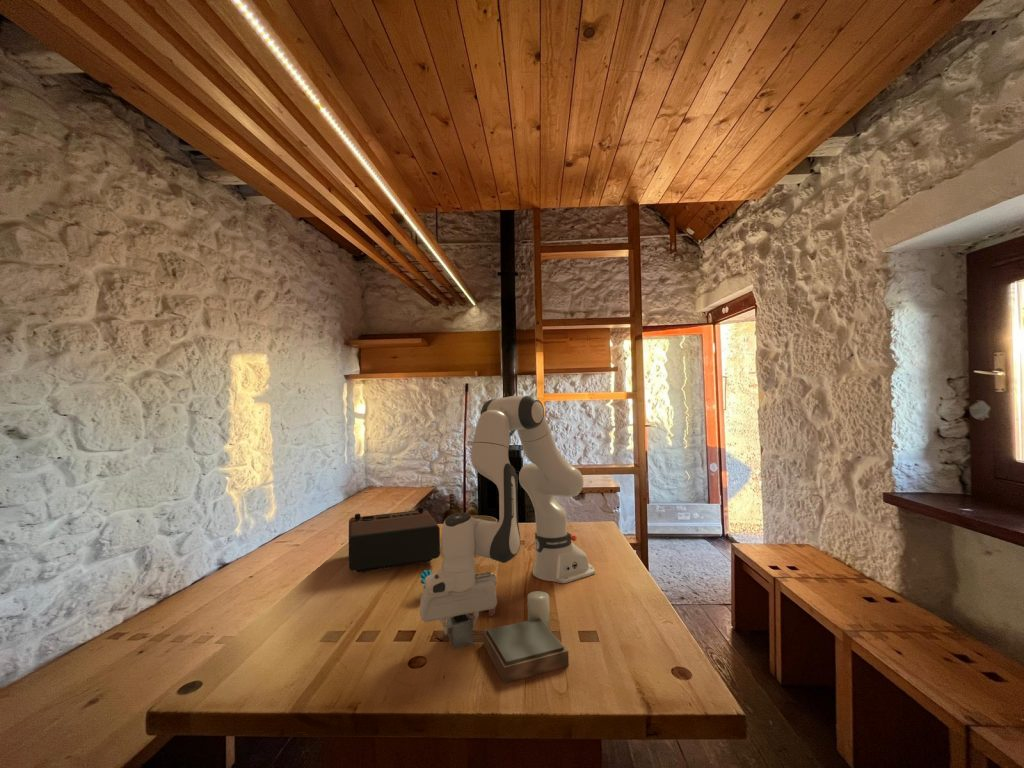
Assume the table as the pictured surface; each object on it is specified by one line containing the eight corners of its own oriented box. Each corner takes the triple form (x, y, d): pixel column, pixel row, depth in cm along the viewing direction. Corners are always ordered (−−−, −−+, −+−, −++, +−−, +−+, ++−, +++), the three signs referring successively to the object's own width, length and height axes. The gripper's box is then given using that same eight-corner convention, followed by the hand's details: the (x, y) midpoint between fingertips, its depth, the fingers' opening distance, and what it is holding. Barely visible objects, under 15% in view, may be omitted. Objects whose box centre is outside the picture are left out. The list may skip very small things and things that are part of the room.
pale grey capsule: (544, 618, 121) (543, 589, 122) (553, 628, 116) (552, 598, 116) (524, 622, 119) (524, 593, 119) (533, 633, 114) (532, 602, 114)
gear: (436, 599, 130) (417, 572, 134) (423, 612, 131) (405, 585, 135) (452, 589, 141) (435, 564, 144) (440, 601, 141) (423, 576, 145)
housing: (465, 629, 116) (464, 607, 116) (472, 645, 109) (472, 621, 109) (447, 633, 114) (446, 610, 115) (453, 649, 107) (453, 625, 107)
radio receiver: (433, 543, 187) (433, 502, 188) (446, 565, 162) (446, 517, 163) (348, 555, 175) (348, 511, 175) (348, 581, 150) (348, 529, 150)
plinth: (540, 631, 114) (539, 616, 114) (568, 665, 99) (568, 648, 100) (483, 644, 109) (483, 628, 109) (504, 683, 94) (504, 664, 94)
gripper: (492, 566, 119) (493, 617, 118) (418, 579, 111) (419, 632, 111) (499, 575, 113) (500, 628, 112) (422, 589, 106) (422, 645, 105)
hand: (459, 630), depth 112 cm, fingers closed on housing, 5 cm apart
